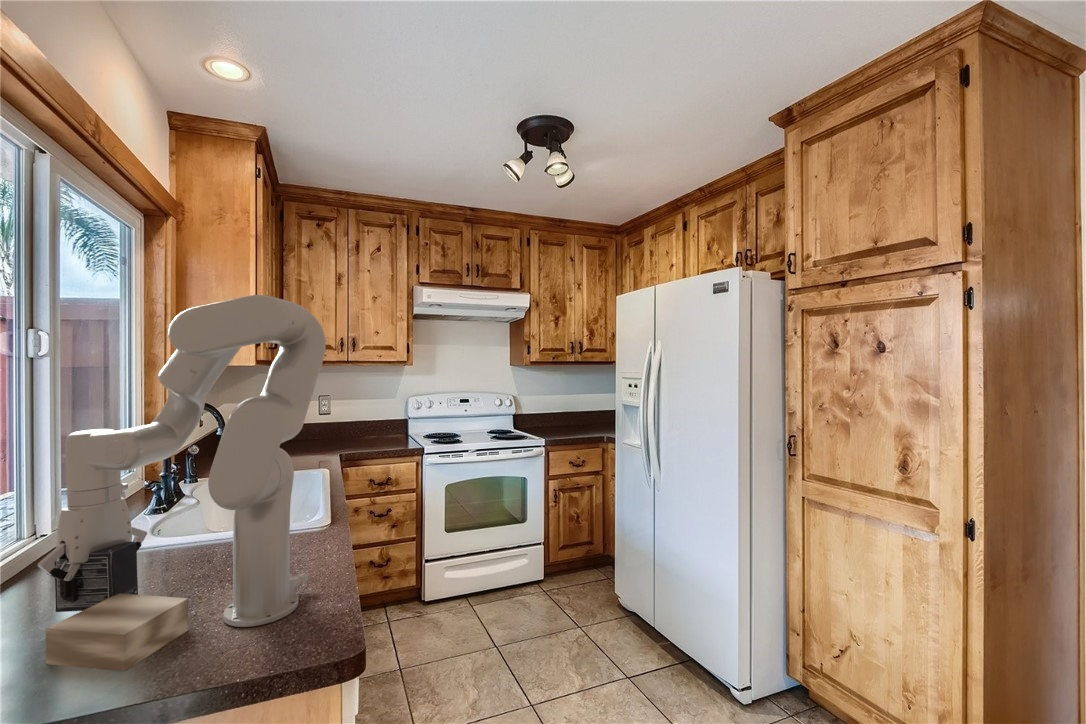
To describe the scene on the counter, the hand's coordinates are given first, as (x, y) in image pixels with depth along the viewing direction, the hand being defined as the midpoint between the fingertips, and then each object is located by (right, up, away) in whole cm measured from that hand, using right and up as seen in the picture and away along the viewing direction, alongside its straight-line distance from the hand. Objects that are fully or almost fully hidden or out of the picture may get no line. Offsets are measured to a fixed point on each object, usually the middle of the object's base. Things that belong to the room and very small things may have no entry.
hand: (98, 589), depth 94 cm
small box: (0, -3, 0) cm, 3 cm away
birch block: (+12, -6, -9) cm, 16 cm away
